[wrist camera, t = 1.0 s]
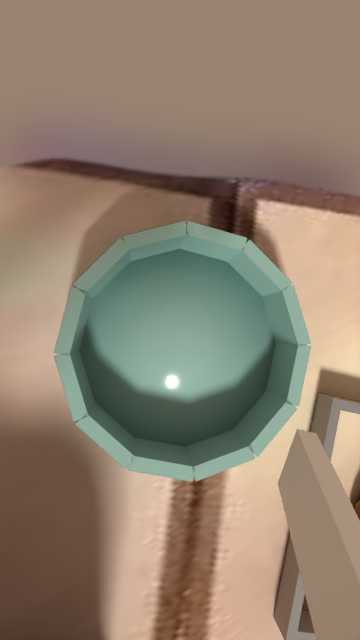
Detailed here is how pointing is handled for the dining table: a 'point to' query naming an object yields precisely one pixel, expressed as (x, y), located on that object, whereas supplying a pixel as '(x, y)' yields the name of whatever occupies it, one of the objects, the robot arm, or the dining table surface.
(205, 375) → the bowl
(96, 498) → the dining table surface
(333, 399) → the rectangular frame
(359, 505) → the bread roll
